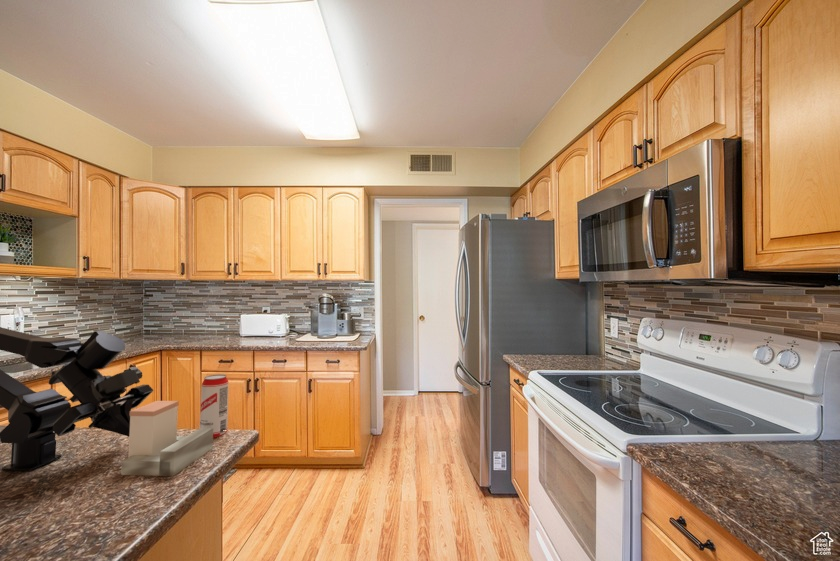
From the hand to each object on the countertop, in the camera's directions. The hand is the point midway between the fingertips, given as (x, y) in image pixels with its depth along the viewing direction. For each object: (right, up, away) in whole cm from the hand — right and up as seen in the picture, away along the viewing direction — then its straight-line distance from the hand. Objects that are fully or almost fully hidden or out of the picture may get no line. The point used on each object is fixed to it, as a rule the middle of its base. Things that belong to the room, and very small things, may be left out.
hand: (133, 434), depth 75 cm
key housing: (+7, -7, 0) cm, 9 cm away
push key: (+5, -5, 0) cm, 7 cm away
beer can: (+9, -8, +14) cm, 19 cm away
